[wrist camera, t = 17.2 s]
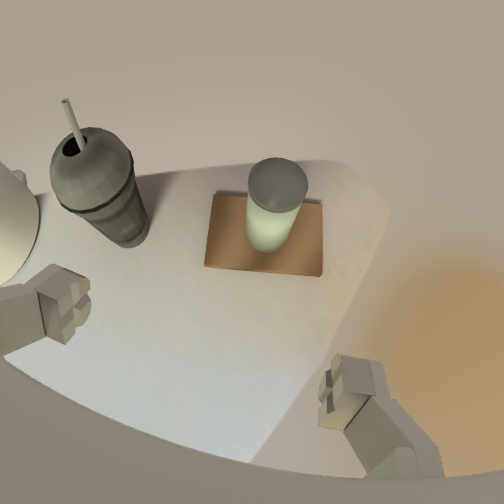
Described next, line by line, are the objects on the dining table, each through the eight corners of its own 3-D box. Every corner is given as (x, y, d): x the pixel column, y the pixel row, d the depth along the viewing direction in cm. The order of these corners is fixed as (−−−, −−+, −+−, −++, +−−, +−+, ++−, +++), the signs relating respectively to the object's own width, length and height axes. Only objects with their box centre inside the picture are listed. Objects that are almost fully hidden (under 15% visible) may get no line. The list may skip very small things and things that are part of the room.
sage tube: (242, 251, 33) (245, 205, 23) (245, 210, 34) (250, 154, 25) (287, 255, 33) (308, 211, 23) (288, 214, 34) (307, 161, 25)
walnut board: (205, 266, 33) (204, 264, 32) (214, 198, 36) (213, 194, 35) (319, 276, 33) (322, 274, 32) (319, 208, 36) (321, 204, 35)
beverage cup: (107, 200, 35) (31, 76, 16) (165, 200, 35) (116, 59, 17) (95, 258, 33) (-12, 156, 14) (157, 261, 33) (78, 143, 14)
